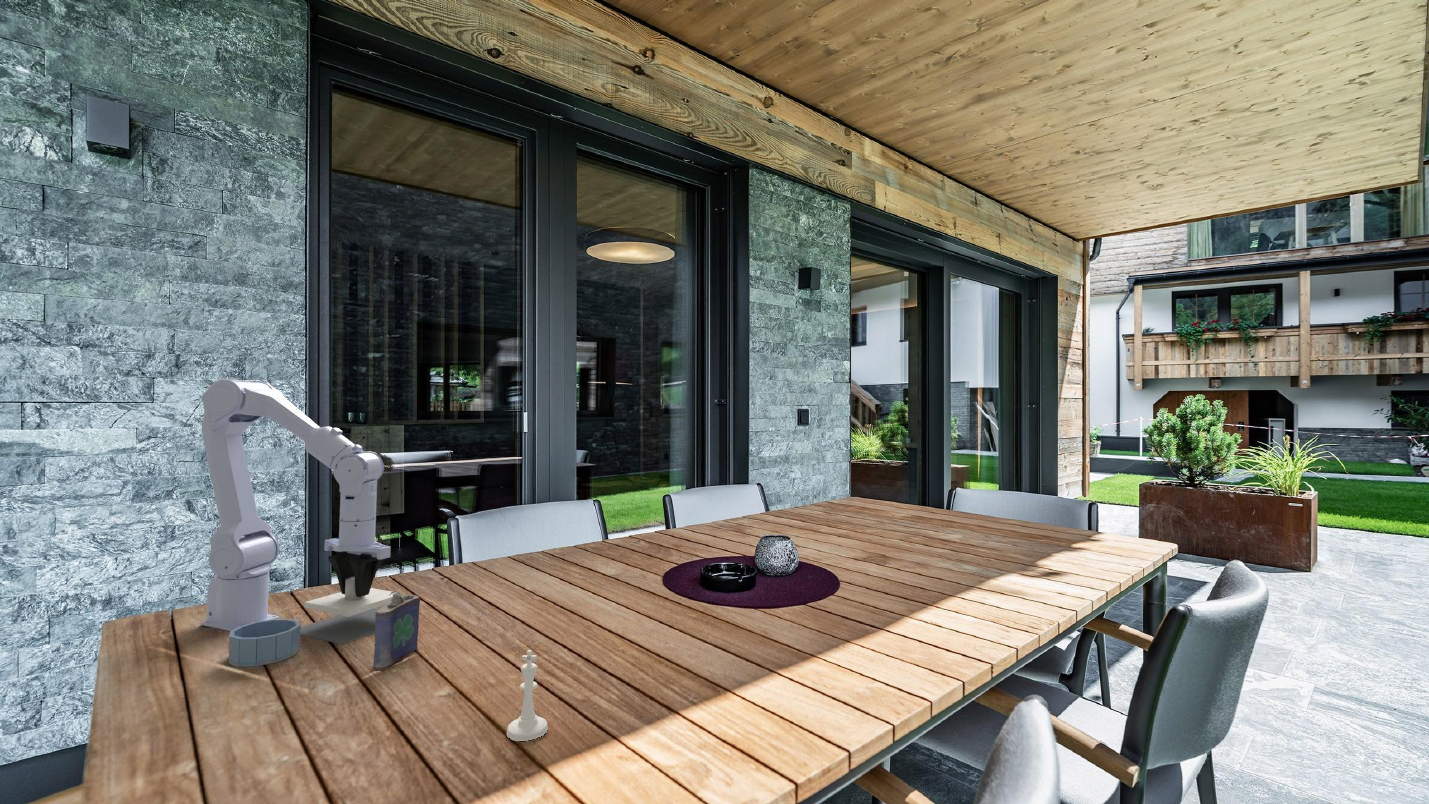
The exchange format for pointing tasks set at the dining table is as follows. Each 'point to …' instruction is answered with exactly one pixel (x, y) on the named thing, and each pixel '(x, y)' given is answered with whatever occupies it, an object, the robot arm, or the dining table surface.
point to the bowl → (264, 642)
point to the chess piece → (527, 707)
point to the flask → (396, 630)
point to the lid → (350, 600)
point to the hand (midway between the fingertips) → (355, 594)
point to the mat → (342, 627)
